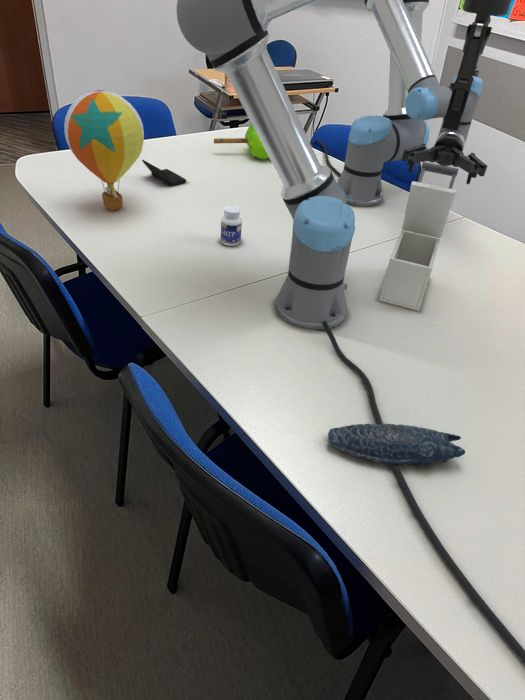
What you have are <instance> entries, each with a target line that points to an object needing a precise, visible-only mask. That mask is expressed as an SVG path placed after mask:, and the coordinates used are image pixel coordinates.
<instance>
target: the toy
mask: <svg viewBox="0 0 525 700" xmlns="http://www.w3.org/2000/svg"><path fill="white" fill-rule="evenodd" d="M63 128H64V130H63V131H64V132H63V133H64V137H65V141H66V144H67V146H68V148H69V150H70V151H71V152H72V154H73V156H75V158H76V159H77V161H78V162H80V163H81V165H83V166H84V167H85V168H86V169H87V170H88V171H90V172H91V173H92V174H93V175H94V176H96V177H97V178H98V179H100V180H101V183H102V184H101V185H102V187H103V191H102V193H101V198H102V203H103V205H104V207H105V208H106V209H108V210H109V211H110V212H113V211H118V210H121V209H122V208H123V203H124V201H123V195H122V194H121V193H120V192H119V191H118V190H119V188H120V183H118V182H120V181H121V178H122V177H123V176H124V175H125V174H126V173H127V172H128V171H129V170H130V169H131V167H133V165H134V164H135V163H136V161H137V160H138V159H139V158H140V155H141V153H142V150H143V147H144V141H145V131H144V130H145V129H144V125H143V121H142V119H141V116H140V114H139V113H138V111H137V109H136V108H134V106H133V105H132V103H130V102H129V101H128V100H127V99H126V98H124V97H123V96H122V95H119V94H117V93H115V92H112V91H109V90H102V89H101V90H100V89H98V90H92V91H87V92H85V93H82V95H79V96H78V97H77V98H76V99H75V100H73V102H72V103H71V105H70V107H69V108H68V111H67V112H66V114H65V118H64V124H63ZM104 183H105V184H106V185H107V186H106V187H105V186H104ZM115 183H118V185H117V190H116V188H115Z"/></svg>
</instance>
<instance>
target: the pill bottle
mask: <svg viewBox="0 0 525 700" xmlns="http://www.w3.org/2000/svg"><path fill="white" fill-rule="evenodd" d="M242 227H243V219H242V217H241V208H240V207H238V206H235V205H227V206H225V207H224V209H223V215H222V216H221V219H220V242H221V243H222V244H223V245H226V246H229V247H231V246H232V247H234V246H238V245H239V244H240V243H241V241H242Z"/></svg>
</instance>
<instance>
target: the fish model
mask: <svg viewBox="0 0 525 700" xmlns="http://www.w3.org/2000/svg"><path fill="white" fill-rule="evenodd" d="M327 438H328V439H327V440H328V441H327V445H328V446H330V447H333V448H335V449H339V450H341V451H342V452H343V453H346V452H347V453H348V454H349V455H351V456H356V457H357V458H360V459H366V460H369V461H374V462H376V463H380V464H387V465H391V464H396V465H399V466H401V465H409V464H416V465H419V466H427V465H428V464H429V463H433V462H437V461H440V462H441V463H447V462H448V461H449V460H451V459H452V460H453V459H454V458H460V457H463V456H464V455H465V454H466V450H465V449H464V448H462V447H461V446H460V445H457V444H455V443H453V442H456V441H460V440H461V439H462V437H461V436H460V435H456V434H454V433H449V432H443V431H438V430H435V429H431V428H426V427H421V426H420V427H419V426H416V425H407V424H394V423H383V424H377V423H376V424H374V423H373V424H372V423H364V424H363V423H358V424H351V425H344V426H340V427H333V428H330V429H329V431H328V432H327Z"/></svg>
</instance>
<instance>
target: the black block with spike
mask: <svg viewBox="0 0 525 700" xmlns="http://www.w3.org/2000/svg"><path fill="white" fill-rule="evenodd" d="M141 161H142V163H143V164H144V165H145V167H147V169H148V170H149V171H150V172H151V174H150V175H151V176H153V177H155V178H156V179H158V180H160V181H162V182H163V183H165V184H167V185H168V186H170V187H172V186H177V185H180V184H184V183H185V184H186V183H187V179H186V178H184V177H183V176H181V175H179V174H177V173H175V172H173V171H172V170H170V169H168V168H164V169H161V168H159V167H157V166H155V165H153V164H151V163H150V162H148V161H146V160H145V159H142V160H141Z"/></svg>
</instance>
